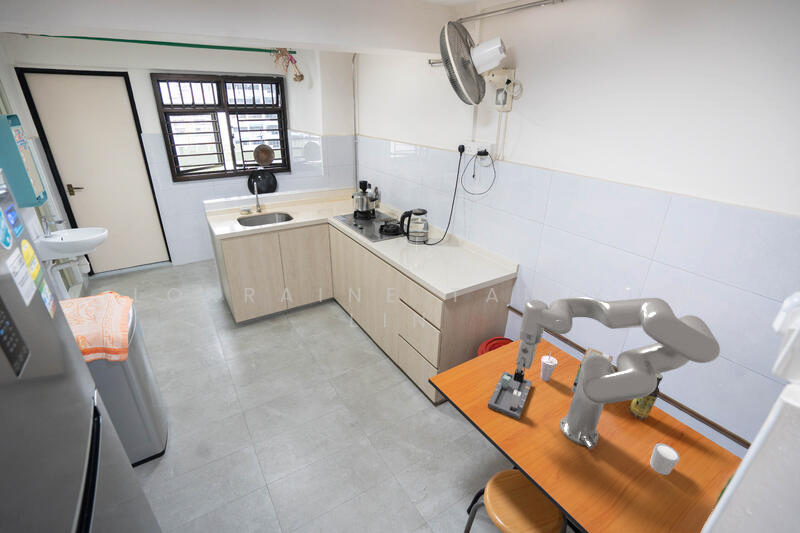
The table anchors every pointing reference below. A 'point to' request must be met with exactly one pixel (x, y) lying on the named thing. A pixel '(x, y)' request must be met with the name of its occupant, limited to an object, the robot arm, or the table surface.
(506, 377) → the fader teal
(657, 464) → the white short cylinder
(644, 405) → the sauce bottle
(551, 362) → the smoothie
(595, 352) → the pale thin bent piece
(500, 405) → the console
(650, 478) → the table surface
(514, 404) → the block
